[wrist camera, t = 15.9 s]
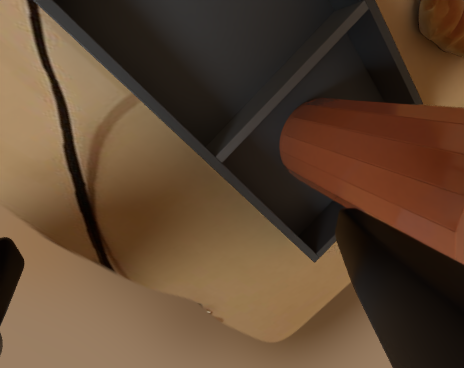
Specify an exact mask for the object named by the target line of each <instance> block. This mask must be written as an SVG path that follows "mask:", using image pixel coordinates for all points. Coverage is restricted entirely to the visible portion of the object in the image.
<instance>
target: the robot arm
mask: <svg viewBox="0 0 464 368" xmlns="http://www.w3.org/2000/svg"><path fill="white" fill-rule="evenodd" d="M335 237H336V241H337V243H338V246H339V249H340V252H341V254H342V257H343V260H344V263H345V266H346V268H347V271H348V274H349V277H350V279H351V282H352V284H353V287H354V289H355V291H356V293H357V295H358V298H359V300H360V302H361V304H362V306H363V308H364V310H365V312H366V314H367V316H368V318H369V320H370V322H371V324H372V326H373V328H374V330H375V332H376V334H377V336H378V338H379V341H380V343H381V344H382V347H383V349H384V351H385V353H386V355H387V357H388V359H389V361H390V363H391V365H392V367H393V368H464V264H462V263H460V262H458V261H456V260H454V259H452V258H450V257H449V256H447V255H445V254H443V253H441V252H439V251H437V250H435V249H433V248H431V247H430V246H428V245H426V244H424V243H422V242H420V241H418V240H416V239H414V238H412V237H411V236H409V235H407V234H405V233H403V232H401V231H399V230H397V229H395V228H393V227H392V226H390V225H388V224H386V223H384V222H382V221H380V220H378V219H376V218H374V217H373V216H371V215H369V214H367V213H365V212H363V211H361V210H359V209H357V208H343V209H341V210H340V211H339V214H338V219H337V224H336V229H335ZM23 268H24V259H23V257H22V255H21V254H20V252H19V250H18V249H17V247H16V245H15V244H14V242H13V241H12V240H11V239H10V238H7V237H4V238H0V325H1V323H2V321H3V318H4V316H5V314H6V311H7V309H8V306H9V304H10V301H11V299H12V296H13V294H14V291H15V289H16V286H17V283H18V281H19V279H20V276H21V273H22V271H23Z"/></svg>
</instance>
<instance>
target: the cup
mask: <svg viewBox="0 0 464 368" xmlns="http://www.w3.org/2000/svg"><path fill="white" fill-rule="evenodd" d="M279 149H280V156H281V160H282V162H283V164H284V166H285V168H286V169H287V171H288V172H289V173H290V174H292V175H293V176H294V177H295V178H297V179H298V180H300V181H302V182H303V183H305V184H307V185H309V186H310V187H312V188H314V189H315V190H317V191H319V192H320V193H322V194H324V195H326V196H327V197H329V198H331V199H332V200H334V201H336V202H338V203H339V204H341V205H343V206H344V207H346V208H357V209H359V210H361V211H363V212H365V213H367V214H369V215H371V216H373V217H374V218H376V219H378V220H380V221H382V222H384V223H386V224H388V225H390V226H392V227H393V228H395V229H397V230H399V231H401V232H403V233H405V234H407V235H409V236H411V237H412V238H414V239H416V240H418V241H420V242H422V243H424V244H426V245H428V246H430V247H431V248H433V249H435V250H437V251H439V252H441V253H443V254H445V255H447V256H449V257H450V258H452V259H454V260H456V261H458V262H460V263H462V264H464V107H451V106H437V105H423V104H408V103H394V102H380V101H366V100H351V99H337V98H315V99H312V100H309V101H307V102H305V103H303V104H301V105H300V106H299V107H297V108H296V109H295V110H294V111H293V112H292V114H291V115H290V116H289V118H288V119H287V121H286V123H285V124H284V127H283V129H282V132H281V136H280V143H279Z"/></svg>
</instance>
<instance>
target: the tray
mask: <svg viewBox="0 0 464 368" xmlns="http://www.w3.org/2000/svg"><path fill="white" fill-rule="evenodd" d="M33 1H34V2H35V3H36V4H38V5H39V6H40V7H41V8H42V9H43V10H44V11H45V12H46V13H47V14H48V15H49V16H50V17H52V18H53V19H54V20H55V21H56V22H57V23H58V24H59V25H60V26H61V27H62V28H63V29H64V30H65V31H67V32H68V33H69V34H70V35H71V36H72V37H73V38H74V39H75V40H76V41H77V42H78V43H79V44H80V45H82V46H83V47H84V48H85V49H86V50H87V51H88V52H89V53H90V54H91V55H92V56H93V57H94V58H95V59H97V60H98V61H99V62H100V63H101V64H102V65H103V66H104V67H105V68H106V69H107V70H108V71H109V72H111V73H112V74H113V75H114V76H115V77H116V78H117V79H118V80H119V81H120V82H121V83H122V84H123V85H124V86H126V87H127V88H128V89H129V90H130V91H131V92H132V93H133V94H134V95H135V96H136V97H137V98H138V99H139V100H141V101H142V102H143V103H144V104H145V105H146V106H147V107H148V108H149V109H150V110H151V111H152V112H153V113H154V114H156V115H157V116H158V117H159V118H160V119H161V120H162V121H163V122H164V123H165V124H166V125H167V126H168V127H169V128H171V129H172V130H173V131H174V132H175V133H176V134H177V135H178V136H179V137H180V138H181V139H182V140H183V141H185V142H186V143H187V144H188V145H189V146H190V147H191V148H192V149H193V150H194V151H195V152H196V153H197V154H198V155H200V156H201V157H202V158H203V159H204V160H205V161H206V162H207V163H208V164H209V165H210V166H211V167H212V168H213V169H215V170H216V171H217V172H218V173H219V174H220V175H221V176H222V177H223V178H224V179H225V180H226V181H227V182H228V183H230V184H231V185H232V186H233V187H234V188H235V189H236V190H237V191H238V192H239V193H240V194H241V195H242V196H244V197H245V198H246V199H247V200H248V201H249V202H250V203H251V204H252V205H253V206H254V207H255V208H256V209H257V210H259V211H260V212H261V213H262V214H263V215H264V216H265V217H266V218H267V219H268V220H269V221H270V222H271V223H272V224H274V225H275V226H276V227H277V228H278V229H279V230H280V231H281V232H282V233H283V234H284V235H285V236H286V237H287V238H289V239H290V240H291V241H292V242H293V243H294V244H295V245H296V246H297V247H298V248H299V249H300V250H301V251H302V252H304V253H305V254H306V255H307V256H308V257H309V258H310V259H311V260H312V261H313V262H316V261H317V260H318V259H319V258H320V257H321V256H322V255H323V254H324V253H325V252H326V251H327V250H328V249H329V248H330V247H331V245H332V244H333V243H334V242H335V241H336V237H335V229H336V224H337V219H338V214H339V211H340V210H341V209H343V208H346V207H344V206H343V205H341V204H339V203H338V202H336V201H334V200H332V199H331V198H329V197H327V196H326V195H324V194H322V193H320V192H319V191H317V190H315V189H314V188H312V187H310V186H309V185H307V184H305V183H303V182H302V181H300V180H298V179H297V178H295V177H294V176H293V175H292V174H290V173H289V172H288V171H287V169H286V168H285V166H284V164H283V162H282V160H281V156H280V149H279V143H280V136H281V132H282V129H283V127H284V124H285V123H286V121H287V119H288V118H289V116H290V115H291V114H292V112H293V111H294V110H295V109H296V108H297V107H299V106H300V105H301V104H303V103H305V102H307V101H309V100H312V99H315V98H337V99H351V100H366V101H380V102H394V103H408V104H423V102H422V100H421V98H420V96H419V94H418V92H417V90H416V87H415V85H414V83H413V81H412V79H411V77H410V74H409V72H408V70H407V68H406V66H405V64H404V62H403V59H402V57H401V55H400V53H399V51H398V49H397V46H396V44H395V42H394V40H393V38H392V36H391V34H390V31H389V29H388V27H387V25H386V23H385V21H384V18H383V16H382V14H381V12H380V10H379V8H378V6H377V3H376V1H375V0H33Z"/></svg>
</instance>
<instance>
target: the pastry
mask: <svg viewBox="0 0 464 368" xmlns="http://www.w3.org/2000/svg"><path fill="white" fill-rule="evenodd" d="M419 29H420V32H421V33H422V35H424V36H426V38H427V39H430V40H432V41H433V42H434V43H436V44H437V46H438V47H439V48H440V49H442V50H443V51H444V52H451V53H454V54H456V55H458V56H461V57H464V0H421V3H420V7H419Z"/></svg>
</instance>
